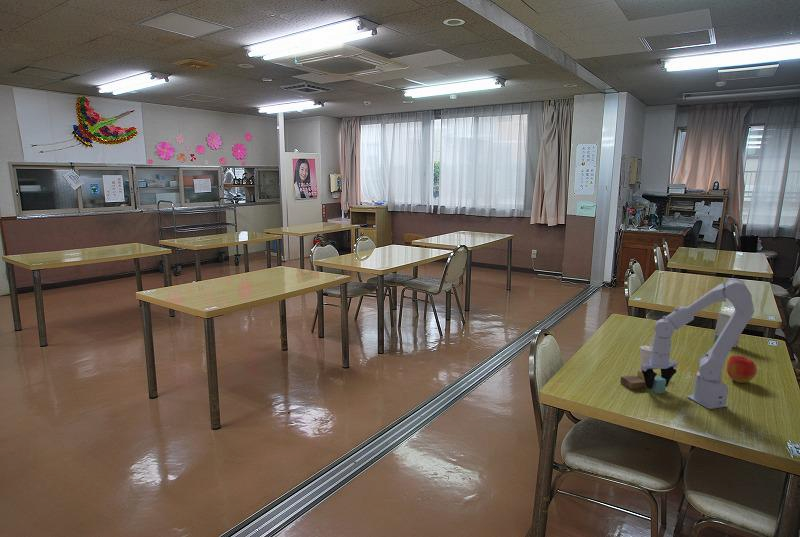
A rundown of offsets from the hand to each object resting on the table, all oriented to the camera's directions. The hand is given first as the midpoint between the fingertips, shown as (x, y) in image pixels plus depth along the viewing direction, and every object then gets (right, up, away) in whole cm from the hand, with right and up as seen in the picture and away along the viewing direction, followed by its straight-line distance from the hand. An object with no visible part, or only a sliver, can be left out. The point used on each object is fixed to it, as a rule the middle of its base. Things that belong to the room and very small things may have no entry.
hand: (656, 386), depth 172 cm
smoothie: (+6, +2, +18) cm, 19 cm away
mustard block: (-1, 0, +6) cm, 6 cm away
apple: (+37, 0, +10) cm, 39 cm away
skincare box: (+60, +7, +50) cm, 78 cm away
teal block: (0, -1, 0) cm, 2 cm away
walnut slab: (-7, -1, +4) cm, 8 cm away
